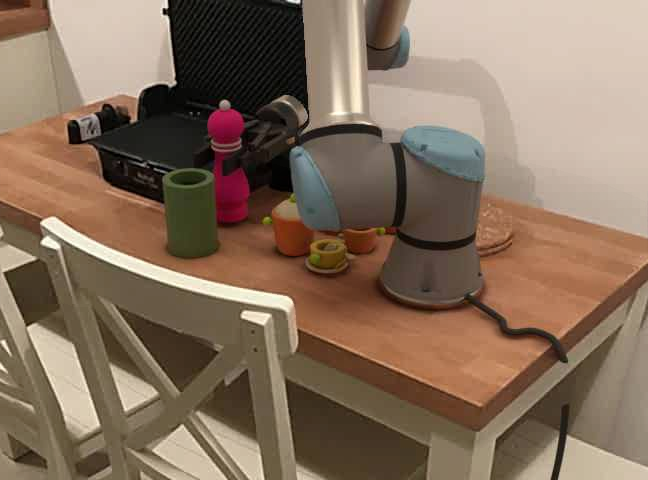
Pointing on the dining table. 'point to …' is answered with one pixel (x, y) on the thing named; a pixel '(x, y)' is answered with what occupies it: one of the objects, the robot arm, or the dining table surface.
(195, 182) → the green cylindrical container
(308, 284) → the dining table surface
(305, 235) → the toy tea set
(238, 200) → the pepper mill
